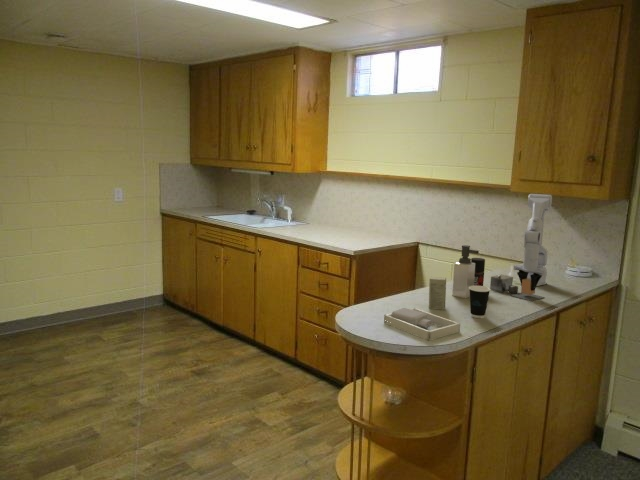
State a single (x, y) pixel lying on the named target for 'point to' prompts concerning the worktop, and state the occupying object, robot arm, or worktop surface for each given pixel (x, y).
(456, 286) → the soap dispenser
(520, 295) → the rubber mat
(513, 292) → the black knob
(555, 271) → the worktop surface
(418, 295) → the worktop surface
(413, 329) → the tray
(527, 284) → the block
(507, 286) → the junction box
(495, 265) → the worktop surface
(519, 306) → the worktop surface
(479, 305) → the dixie cup
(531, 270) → the robot arm
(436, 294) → the skincare box
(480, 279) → the deodorant
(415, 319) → the charger
